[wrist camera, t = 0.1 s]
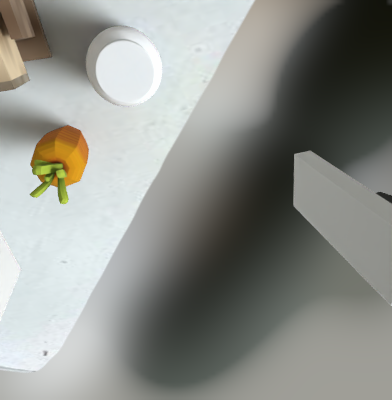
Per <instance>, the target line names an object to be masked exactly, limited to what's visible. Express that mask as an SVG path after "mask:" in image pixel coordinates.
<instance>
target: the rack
mask: <svg viewBox="0 0 392 400" xmlns="http://www.w3.org/2000/svg"><path fill="white" fill-rule="evenodd" d="M0 12H1V14H2V17H3V19H4V22H5V25H6V27H7V30H8V33H9V35H10V38H11V40H13V39H14V40H15V42H16V45H17V48H18V50H19V53H20V56H21V58H22V61H23V62H24V61H30V60H37V59H43V58H49V57H52V55H51V52H50V49H49V46H48V43H47V40H46V37H45V34H44V31H43V28H42V25H41V22H40V19H39V15H38V12H37V9H36V6H35V3H34V0H0Z"/></svg>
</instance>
